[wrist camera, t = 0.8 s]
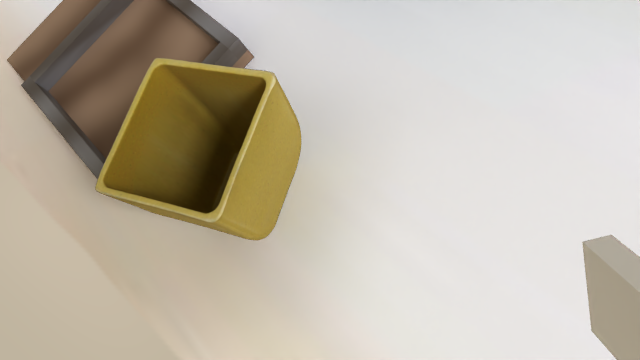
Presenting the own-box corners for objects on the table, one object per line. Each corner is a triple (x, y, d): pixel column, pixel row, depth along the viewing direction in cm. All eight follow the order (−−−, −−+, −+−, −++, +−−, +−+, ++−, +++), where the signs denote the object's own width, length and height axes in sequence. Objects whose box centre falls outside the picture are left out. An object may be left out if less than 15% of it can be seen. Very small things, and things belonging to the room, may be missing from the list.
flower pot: (225, 121, 44) (151, 54, 37) (332, 140, 40) (276, 70, 33) (179, 235, 42) (90, 190, 34) (288, 267, 38) (216, 224, 30)
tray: (15, 65, 55) (-7, 50, 53) (122, -48, 56) (104, -68, 53) (124, 196, 45) (102, 184, 43) (253, 57, 45) (238, 38, 43)
